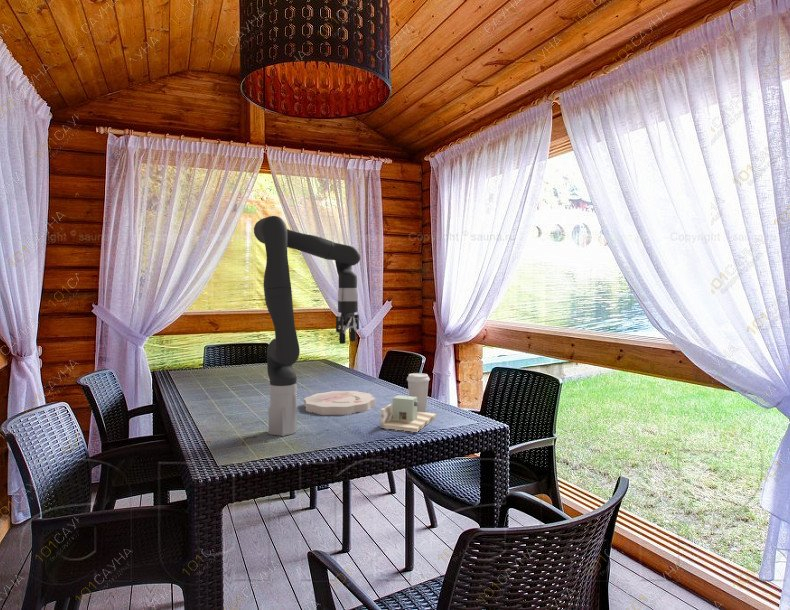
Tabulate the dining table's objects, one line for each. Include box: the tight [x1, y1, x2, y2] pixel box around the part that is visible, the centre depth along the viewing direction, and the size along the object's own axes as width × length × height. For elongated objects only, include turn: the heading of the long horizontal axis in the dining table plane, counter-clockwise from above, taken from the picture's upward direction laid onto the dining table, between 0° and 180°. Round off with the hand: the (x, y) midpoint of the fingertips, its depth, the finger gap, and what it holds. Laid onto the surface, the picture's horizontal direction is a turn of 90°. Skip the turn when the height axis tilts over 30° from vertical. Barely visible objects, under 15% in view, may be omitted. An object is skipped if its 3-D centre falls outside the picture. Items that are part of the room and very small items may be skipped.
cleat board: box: [380, 402, 437, 433], centre depth 185 cm, size 22×14×7 cm, turn 158°
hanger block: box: [392, 394, 418, 421], centre depth 186 cm, size 5×9×8 cm, turn 68°
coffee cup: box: [406, 372, 431, 413], centre depth 203 cm, size 10×10×15 cm
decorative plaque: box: [303, 390, 376, 416], centre depth 211 cm, size 30×4×30 cm
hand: (347, 342), depth 187 cm, fingers open, 8 cm apart
